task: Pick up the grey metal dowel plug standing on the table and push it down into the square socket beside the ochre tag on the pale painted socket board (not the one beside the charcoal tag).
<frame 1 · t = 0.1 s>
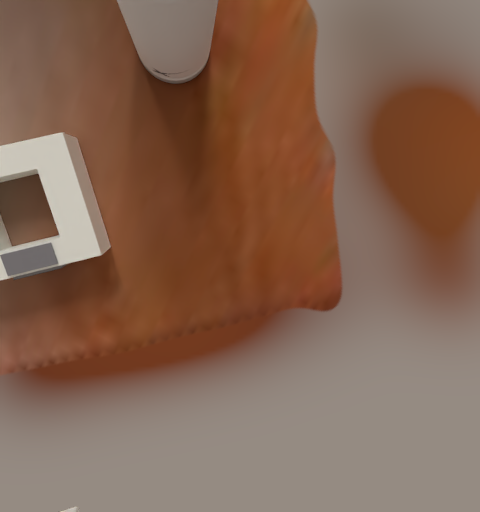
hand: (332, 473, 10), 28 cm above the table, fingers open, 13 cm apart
travel mug: (175, 48, 34), on the table
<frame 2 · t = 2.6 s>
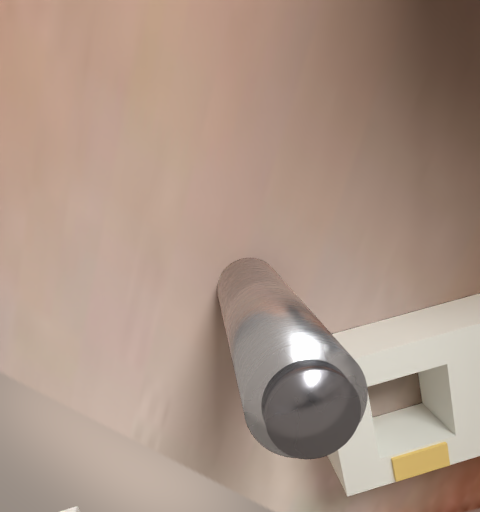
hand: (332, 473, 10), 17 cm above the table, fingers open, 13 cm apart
socket board: (450, 362, 30), on the table
plug: (248, 288, 27), on the table
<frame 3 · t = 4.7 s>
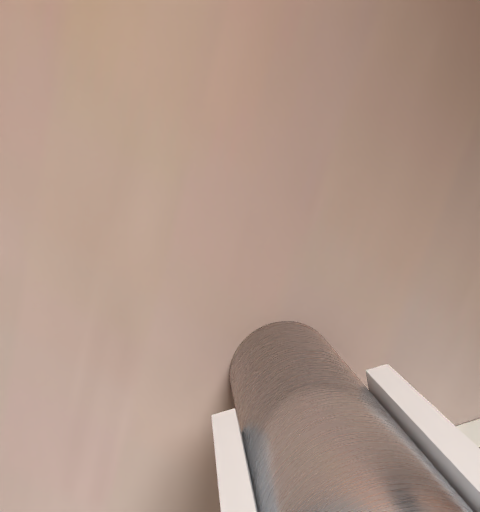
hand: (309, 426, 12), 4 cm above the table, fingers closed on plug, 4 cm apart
plug: (282, 372, 16), on the table, touching gripper
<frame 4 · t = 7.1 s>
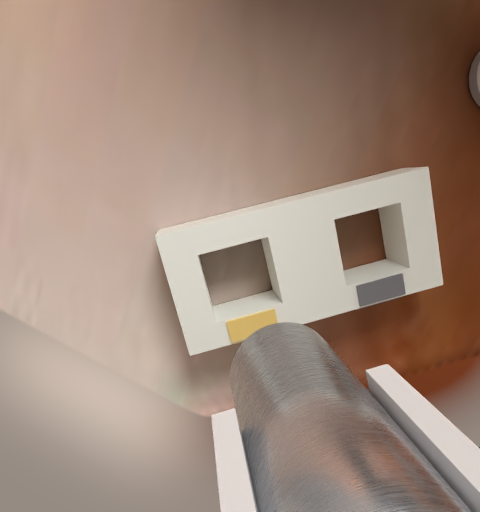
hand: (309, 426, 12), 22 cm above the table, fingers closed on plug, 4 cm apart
socket board: (294, 252, 35), on the table
plug: (282, 372, 16), point 19 cm above the table, touching gripper
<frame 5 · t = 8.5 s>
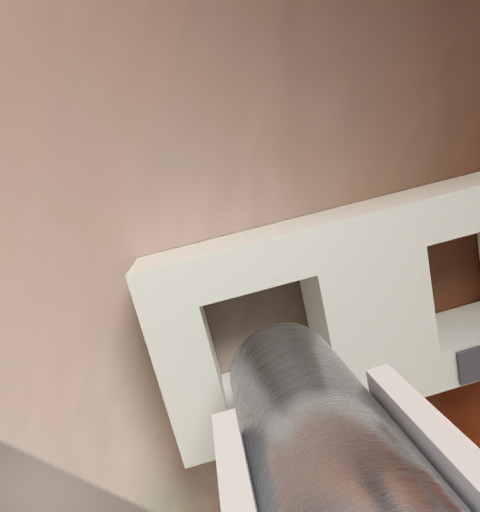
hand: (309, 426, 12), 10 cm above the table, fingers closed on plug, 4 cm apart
socket board: (348, 292, 22), on the table
plug: (282, 373, 16), point 6 cm above the table, touching gripper
when the fingers open (6 cm above the table, at t = 9.6 s): plug drops 2 cm, resting in socket board.
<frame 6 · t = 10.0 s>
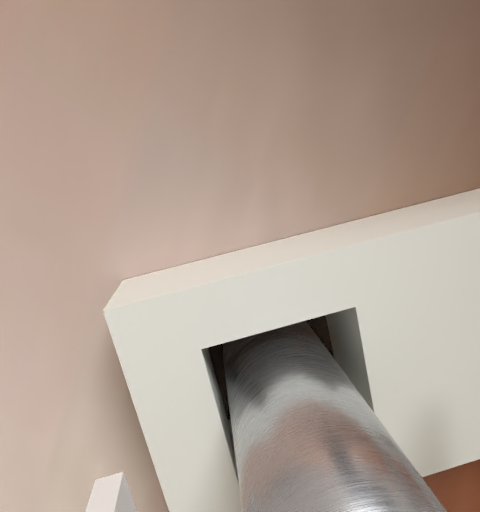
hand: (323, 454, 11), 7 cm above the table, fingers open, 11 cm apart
socket board: (383, 319, 18), on the table
plug: (270, 352, 18), resting in socket board
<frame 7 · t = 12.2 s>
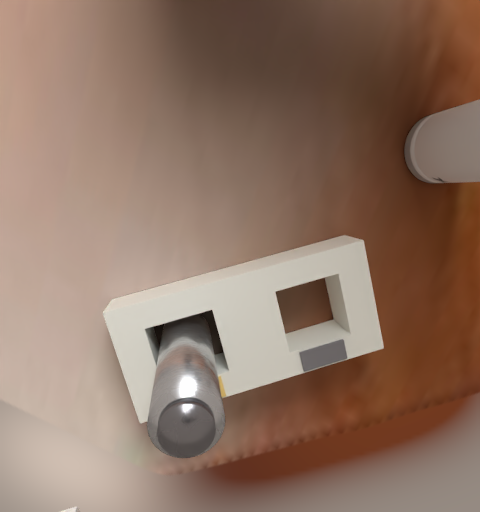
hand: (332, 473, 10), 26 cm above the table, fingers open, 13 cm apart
travel mug: (433, 151, 36), on the table
socket board: (244, 316, 36), on the table
plug: (186, 333, 36), resting in socket board
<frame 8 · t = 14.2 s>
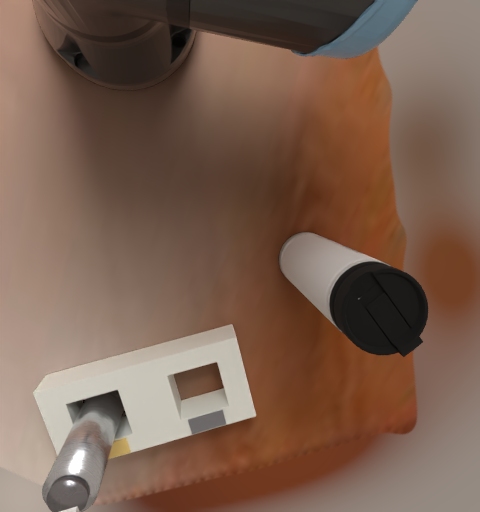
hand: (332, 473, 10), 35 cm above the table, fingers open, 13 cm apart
travel mug: (304, 258, 46), on the table
socket board: (153, 386, 46), on the table
plug: (106, 399, 46), resting in socket board
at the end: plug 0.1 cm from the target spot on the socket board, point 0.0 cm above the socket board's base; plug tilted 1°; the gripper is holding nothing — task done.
